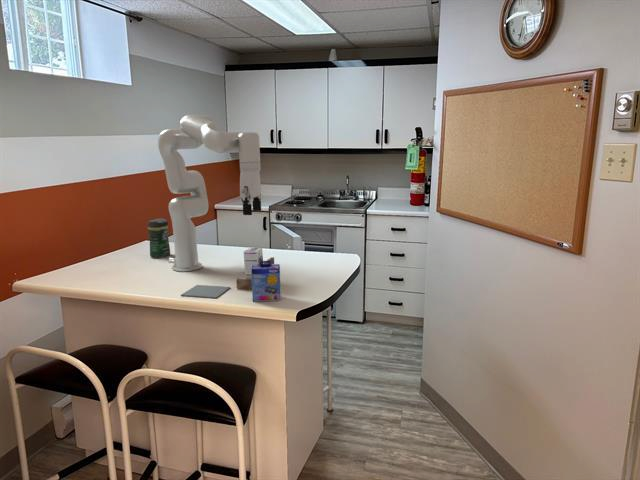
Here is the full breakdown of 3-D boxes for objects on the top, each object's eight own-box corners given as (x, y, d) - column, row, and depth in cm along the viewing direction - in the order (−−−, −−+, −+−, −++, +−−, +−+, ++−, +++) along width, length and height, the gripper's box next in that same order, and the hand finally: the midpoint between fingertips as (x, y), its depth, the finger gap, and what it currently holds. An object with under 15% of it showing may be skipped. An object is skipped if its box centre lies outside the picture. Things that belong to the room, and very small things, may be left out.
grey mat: (181, 296, 171) (180, 294, 171) (197, 286, 182) (197, 284, 182) (216, 298, 167) (216, 297, 167) (230, 288, 179) (230, 286, 179)
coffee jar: (161, 259, 224) (158, 220, 220) (147, 258, 226) (143, 220, 222) (173, 254, 233) (170, 217, 229) (159, 253, 235) (156, 216, 231)
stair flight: (237, 289, 177) (235, 263, 175) (248, 280, 188) (247, 256, 186) (264, 291, 175) (263, 265, 173) (275, 281, 186) (274, 257, 183)
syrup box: (259, 288, 178) (258, 251, 175) (245, 287, 179) (243, 250, 176) (264, 283, 184) (263, 247, 181) (250, 282, 185) (248, 247, 182)
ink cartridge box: (252, 302, 163) (250, 262, 160) (253, 297, 168) (251, 258, 165) (280, 301, 164) (279, 261, 161) (280, 296, 169) (279, 257, 166)
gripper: (249, 165, 181) (251, 209, 185) (231, 168, 165) (233, 216, 169) (267, 165, 180) (269, 209, 183) (251, 168, 163) (253, 216, 167)
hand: (252, 212), depth 176 cm, fingers open, 9 cm apart
